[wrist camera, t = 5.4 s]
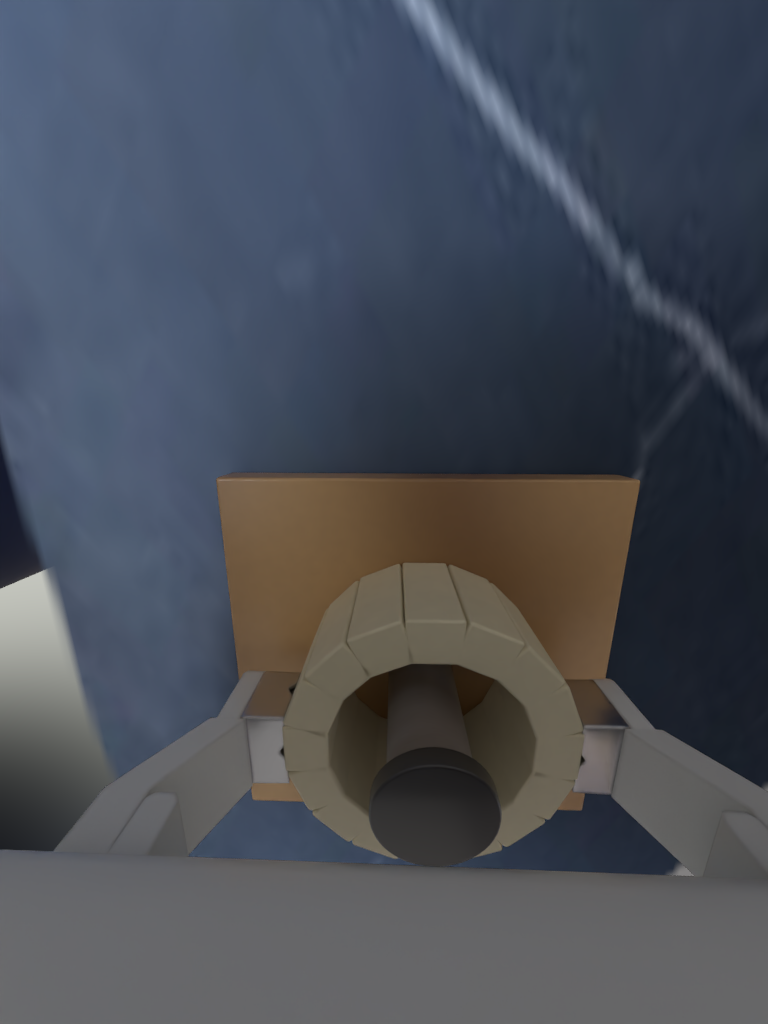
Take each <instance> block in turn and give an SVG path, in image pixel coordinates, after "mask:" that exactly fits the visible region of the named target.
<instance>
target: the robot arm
mask: <svg viewBox="0 0 768 1024" xmlns="http://www.w3.org/2000/svg"><path fill="white" fill-rule="evenodd" d="M300 674H301V673H299V672H278V671H249V670H248V671H246V672H245V673H244V674H243V675H242V677H241V678H240V680H239V682H238V683H237V685H236V687H235V688H234V690H233V692H232V693H231V695H230V696H229V698H228V700H227V701H226V703H225V705H224V706H223V708H222V710H221V711H220V713H219V715H218V716H217V718H209V719H208V720H206V721H205V722H203V723H202V724H200V725H199V726H197V727H196V728H194V729H193V730H191V731H190V732H188V733H187V734H185V735H184V736H182V737H180V738H179V739H177V740H176V741H174V742H173V743H171V744H170V745H168V746H167V747H165V748H164V749H162V750H161V751H159V752H158V753H156V754H155V755H153V756H152V757H150V758H148V759H147V760H145V761H144V762H142V763H141V764H139V765H138V766H136V767H135V768H133V769H132V770H130V771H129V772H127V773H126V774H124V775H123V776H121V777H120V778H118V779H116V780H115V781H113V782H112V783H110V784H109V785H107V786H106V787H104V788H103V789H102V791H101V792H100V793H99V794H98V796H97V797H96V798H95V800H94V801H93V802H92V803H91V804H90V806H89V807H88V808H87V809H86V811H85V812H84V813H83V814H82V816H81V817H80V818H79V820H78V821H77V822H76V823H75V824H74V826H73V827H72V828H71V829H70V831H69V832H68V833H67V834H66V836H65V837H64V838H63V839H62V841H61V842H60V843H59V844H58V846H57V847H56V848H55V850H54V851H53V852H51V851H24V850H0V1024H768V791H766V790H764V789H762V788H761V787H759V786H757V785H756V784H754V783H752V782H751V781H749V780H747V779H745V778H744V777H742V776H740V775H739V774H737V773H735V772H733V771H732V770H730V769H728V768H727V767H725V766H723V765H721V764H720V763H718V762H716V761H715V760H713V759H711V758H709V757H708V756H706V755H704V754H703V753H701V752H699V751H698V750H696V749H694V748H692V747H691V746H689V745H687V744H686V743H684V742H682V741H680V740H679V739H677V738H675V737H674V736H672V735H670V734H668V733H667V732H665V731H663V730H655V728H654V727H653V726H652V725H651V724H650V722H649V721H648V720H647V719H646V718H645V717H644V715H643V714H642V713H641V712H640V711H639V710H638V708H637V707H636V706H635V705H634V704H633V703H632V701H631V700H630V699H629V698H628V697H627V695H626V694H625V693H624V692H623V691H622V690H621V688H620V687H619V686H618V685H617V684H616V683H615V682H614V681H613V680H611V679H564V680H565V681H566V683H567V684H568V686H569V687H570V690H571V693H572V696H573V699H574V702H575V705H576V708H577V711H578V714H579V717H580V720H581V723H582V726H583V731H582V734H583V735H584V736H585V738H584V743H583V749H582V755H581V761H580V767H579V773H578V778H577V779H576V780H574V781H575V785H574V786H573V788H572V791H573V793H588V794H604V795H612V798H613V799H614V800H615V801H616V802H617V803H618V804H619V805H620V806H621V807H623V808H624V809H625V810H626V811H627V812H628V813H629V814H630V815H631V816H632V817H633V818H634V819H635V820H636V821H637V822H638V823H639V824H641V825H642V826H643V827H644V828H645V829H646V830H647V831H648V832H649V833H650V834H651V835H652V836H653V837H654V838H655V839H656V840H657V841H658V842H660V843H661V844H662V845H663V846H664V847H665V848H666V849H667V850H668V851H669V852H670V853H671V854H672V855H673V856H674V857H675V858H676V859H678V860H679V861H680V862H681V863H682V864H683V865H684V866H685V867H686V868H687V869H688V870H689V871H690V872H691V873H692V874H693V875H694V876H672V875H647V874H621V873H595V872H569V871H543V870H517V869H491V868H466V867H440V866H414V865H389V864H363V863H337V862H311V861H285V860H260V859H234V858H208V857H189V856H188V855H189V854H190V853H191V852H192V851H193V850H194V849H195V847H196V846H197V845H198V844H199V843H200V842H201V841H202V840H203V839H204V838H205V837H206V836H207V834H208V833H209V832H210V831H211V830H212V829H213V828H214V827H215V826H216V825H217V824H218V823H219V822H220V820H221V819H222V818H223V817H224V816H225V815H226V814H227V813H228V812H229V811H230V810H231V809H232V807H233V806H234V805H235V804H236V803H237V802H238V801H239V800H240V799H241V798H242V797H243V796H244V795H245V793H246V792H247V791H248V790H249V789H250V788H251V787H252V786H253V784H252V783H289V781H290V777H289V771H287V770H286V768H285V756H284V744H283V732H282V727H284V726H285V725H284V724H283V721H284V717H285V715H286V712H287V709H288V707H289V704H290V701H291V699H292V696H293V693H294V690H295V688H296V685H297V683H298V680H299V677H300Z"/></svg>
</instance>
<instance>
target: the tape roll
mask: <svg viewBox="0 0 768 1024" xmlns="http://www.w3.org/2000/svg"><path fill="white" fill-rule="evenodd" d="M410 664H447V665H459V666H462V667H464V668H467V669H469V670H472V671H475V672H477V673H480V674H482V675H485V676H487V677H490V678H493V679H495V680H494V682H493V684H492V685H491V687H490V689H489V691H488V692H487V694H486V696H485V697H484V699H483V701H482V702H481V703H480V704H479V705H477V706H476V707H475V708H473V709H472V710H471V711H469V712H468V713H467V714H465V715H464V716H463V719H464V723H465V727H466V732H467V736H468V741H469V745H470V749H471V754H472V758H473V759H475V760H476V761H477V762H479V763H480V764H481V765H482V766H483V767H484V768H485V769H486V770H487V772H488V773H489V774H490V776H491V777H492V779H493V781H494V784H495V787H496V790H497V794H498V797H499V801H500V804H501V810H502V820H501V825H500V829H499V831H498V834H497V836H496V837H495V839H494V841H493V842H492V843H491V844H490V845H489V846H488V847H487V848H486V849H485V850H484V851H483V852H481V853H480V854H479V855H477V856H475V857H478V856H482V855H486V854H490V853H494V852H497V851H501V850H502V845H504V846H505V847H508V846H510V845H512V844H513V843H515V842H516V841H518V840H519V839H521V838H522V837H524V836H526V835H527V834H529V833H530V832H532V831H533V830H535V829H536V828H538V827H539V826H541V825H543V824H544V823H545V819H547V820H549V819H551V817H552V816H553V814H554V813H555V812H556V810H557V809H558V807H559V806H560V805H561V803H562V802H563V800H564V799H565V798H566V796H567V795H568V793H569V792H570V791H571V789H572V788H573V786H574V785H575V781H574V780H576V779H577V778H578V773H579V767H580V761H581V755H582V749H583V743H584V738H585V736H584V735H583V734H582V731H583V726H582V723H581V720H580V717H579V714H578V711H577V708H576V705H575V702H574V699H573V696H572V693H571V690H570V687H569V686H568V684H567V683H566V681H565V680H564V678H563V677H562V675H561V673H560V672H559V670H558V669H557V667H556V666H555V664H554V663H553V661H552V660H551V658H550V657H549V655H548V654H547V652H546V651H545V649H544V647H543V646H542V644H541V643H540V641H539V640H538V638H537V637H536V635H535V634H534V632H533V631H532V629H531V628H530V626H529V625H528V623H527V622H526V620H525V618H524V617H523V615H522V614H521V612H520V611H519V609H518V608H517V607H516V606H515V605H514V604H513V603H512V602H511V601H510V600H509V599H508V598H507V597H506V596H505V595H504V594H503V593H502V592H501V591H500V590H499V589H498V588H497V587H496V586H495V585H494V584H492V583H489V581H488V580H487V579H485V578H483V577H480V576H478V575H475V574H473V573H470V572H468V571H466V570H463V569H461V568H458V567H456V566H453V565H449V566H448V567H447V566H446V564H445V563H403V565H402V567H401V565H400V564H396V565H393V566H391V567H388V568H385V569H383V570H380V571H377V572H375V573H372V574H369V575H367V576H364V577H362V578H360V582H359V581H355V582H354V583H353V584H352V585H351V586H350V587H349V588H348V589H347V590H345V591H344V592H343V593H342V594H341V595H340V596H339V597H338V598H337V599H336V600H335V601H334V602H333V603H331V604H330V606H329V608H328V609H326V611H325V613H324V616H323V618H322V620H321V623H320V625H319V628H318V630H317V632H316V635H315V637H314V640H313V642H312V645H311V647H310V650H309V653H308V656H307V658H306V661H305V664H304V666H303V669H302V672H301V674H300V677H299V680H298V683H297V685H296V688H295V690H294V693H293V696H292V699H291V701H290V704H289V707H288V709H287V712H286V715H285V717H284V721H283V724H284V725H285V726H284V727H282V732H283V744H284V756H285V768H286V770H287V771H289V777H290V779H291V781H292V782H293V784H294V786H295V787H296V789H297V791H298V792H299V794H300V796H301V798H302V799H303V801H304V803H305V804H306V806H307V808H308V809H309V810H313V815H314V816H315V817H316V818H317V819H318V820H320V821H321V822H322V823H324V824H325V825H326V826H328V827H329V828H330V829H332V830H333V831H334V832H335V833H337V834H338V835H339V836H341V837H342V838H343V839H345V840H346V841H351V840H352V841H353V844H354V845H356V846H359V847H362V848H365V849H367V850H370V851H373V852H376V853H379V854H382V855H385V856H388V857H391V858H394V859H397V858H398V857H396V856H394V855H393V854H391V853H390V852H389V851H387V850H386V849H385V848H384V847H383V846H382V845H381V844H380V843H379V842H378V840H377V839H376V837H375V836H374V833H373V831H372V829H371V826H370V822H369V801H370V790H371V786H372V783H373V781H374V778H375V777H376V775H377V774H378V772H379V771H380V769H381V768H382V767H383V766H384V765H385V764H386V758H387V719H385V718H383V717H380V716H378V715H377V714H376V713H375V712H373V711H372V710H371V709H370V708H369V707H368V706H366V705H365V704H364V703H363V702H362V701H361V700H359V699H358V698H357V696H356V694H355V692H354V691H356V690H357V689H358V688H359V687H360V686H361V685H363V684H364V683H365V682H366V681H367V680H369V679H370V678H371V677H374V676H377V675H380V674H383V673H386V672H389V671H392V670H395V669H398V668H401V667H404V666H407V665H410ZM544 818H545V819H544ZM404 861H405V860H404Z"/></svg>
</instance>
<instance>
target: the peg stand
mask: <svg viewBox="0 0 768 1024" xmlns="http://www.w3.org/2000/svg"><path fill="white" fill-rule="evenodd" d="M216 482H217V491H218V499H219V508H220V517H221V526H222V535H223V544H224V552H225V561H226V570H227V579H228V588H229V596H230V605H231V614H232V623H233V632H234V640H235V649H236V658H237V667H238V676H239V680H240V678H241V677H242V675H243V674H244V673H245V672H246V671H248V670H249V671H278V672H299V673H301V672H302V669H303V666H304V664H305V661H306V658H307V656H308V653H309V650H310V647H311V645H312V642H313V640H314V637H315V635H316V632H317V630H318V628H319V625H320V623H321V620H322V618H323V616H324V613H325V611H326V609H328V608H329V606H330V604H331V603H333V602H334V601H335V600H336V599H337V598H338V597H339V596H340V595H341V594H342V593H343V592H344V591H345V590H347V589H348V588H349V587H350V586H351V585H352V584H353V583H354V582H355V581H359V582H360V578H362V577H364V576H367V575H369V574H372V573H375V572H377V571H380V570H383V569H385V568H388V567H391V566H393V565H396V564H400V565H401V567H402V565H403V563H445V564H446V566H447V567H448V566H449V565H453V566H456V567H458V568H461V569H463V570H466V571H468V572H470V573H473V574H475V575H478V576H480V577H483V578H485V579H487V580H488V581H489V583H492V584H494V585H495V586H496V587H497V588H498V589H499V590H500V591H501V592H502V593H503V594H504V595H505V596H506V597H507V598H508V599H509V600H510V601H511V602H512V603H513V604H514V605H515V606H516V607H517V608H518V609H519V611H520V612H521V614H522V615H523V617H524V618H525V620H526V622H527V623H528V625H529V626H530V628H531V629H532V631H533V632H534V634H535V635H536V637H537V638H538V640H539V641H540V643H541V644H542V646H543V647H544V649H545V651H546V652H547V654H548V655H549V657H550V658H551V660H552V661H553V663H554V664H555V666H556V667H557V669H558V670H559V672H560V673H561V675H562V677H563V678H564V679H605V678H606V673H607V667H608V661H609V656H610V650H611V644H612V639H613V633H614V627H615V622H616V616H617V611H618V605H619V599H620V594H621V588H622V582H623V577H624V571H625V566H626V560H627V554H628V549H629V543H630V537H631V532H632V526H633V520H634V515H635V509H636V504H637V498H638V492H639V487H640V481H639V480H637V479H633V478H629V477H625V476H621V475H583V474H406V473H230V474H227V475H224V476H220V477H218V478H217V480H216ZM494 680H495V679H493V678H490V677H487V676H485V675H482V674H480V673H477V672H475V671H472V670H469V669H467V668H464V667H462V666H459V665H447V664H410V665H407V666H404V667H401V668H398V669H395V670H392V671H389V672H386V673H383V674H380V675H377V676H374V677H371V678H370V679H369V680H367V681H366V682H365V683H364V684H363V685H361V686H360V687H359V688H358V689H357V690H356V691H354V692H355V694H356V696H357V698H358V699H359V700H361V701H362V702H363V703H364V704H365V705H366V706H368V707H369V708H370V709H371V710H372V711H373V712H375V713H376V714H377V715H378V716H380V717H383V718H385V719H387V758H386V764H385V765H384V766H383V767H382V768H381V769H380V771H379V772H378V774H377V775H376V777H375V778H374V781H373V783H372V786H371V790H370V801H369V822H370V826H371V829H372V831H373V833H374V836H375V837H376V839H377V840H378V842H379V843H380V844H381V845H382V846H383V847H384V848H385V849H386V850H387V851H389V852H390V853H391V854H393V855H394V856H396V857H398V858H400V859H402V860H405V861H407V862H410V863H413V864H417V865H423V866H449V865H454V864H458V863H462V862H465V861H467V860H469V859H472V858H474V857H475V856H477V855H479V854H480V853H481V852H483V851H484V850H485V849H486V848H487V847H488V846H489V845H490V844H491V843H492V842H493V841H494V839H495V837H496V836H497V834H498V831H499V829H500V825H501V820H502V810H501V804H500V801H499V797H498V794H497V790H496V787H495V784H494V781H493V779H492V777H491V776H490V774H489V773H488V772H487V770H486V769H485V768H484V767H483V766H482V765H481V764H480V763H479V762H477V761H476V760H475V759H473V758H472V754H471V749H470V745H469V741H468V736H467V732H466V727H465V723H464V719H463V716H464V715H465V714H467V713H468V712H469V711H471V710H472V709H473V708H475V707H476V706H477V705H479V704H480V703H481V702H482V701H483V699H484V697H485V696H486V694H487V692H488V691H489V689H490V687H491V685H492V684H493V682H494ZM252 784H253V786H252V787H251V790H252V799H253V800H265V801H296V802H304V801H303V799H302V798H301V796H300V794H299V792H298V791H297V789H296V787H295V786H294V784H293V782H292V781H291V779H290V781H289V783H252ZM584 796H585V793H573V791H572V789H571V791H570V792H569V793H568V795H567V796H566V798H565V799H564V800H563V802H562V803H561V805H560V806H559V807H558V809H557V810H578V811H580V810H582V808H583V802H584Z"/></svg>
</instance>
